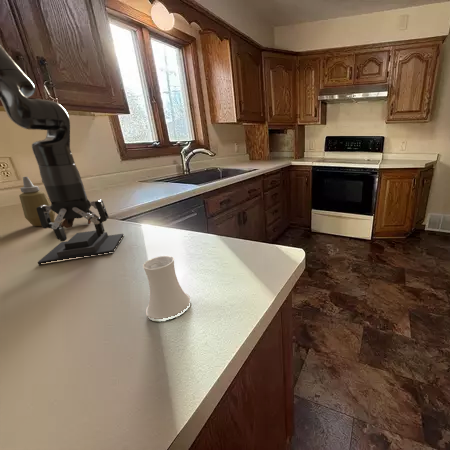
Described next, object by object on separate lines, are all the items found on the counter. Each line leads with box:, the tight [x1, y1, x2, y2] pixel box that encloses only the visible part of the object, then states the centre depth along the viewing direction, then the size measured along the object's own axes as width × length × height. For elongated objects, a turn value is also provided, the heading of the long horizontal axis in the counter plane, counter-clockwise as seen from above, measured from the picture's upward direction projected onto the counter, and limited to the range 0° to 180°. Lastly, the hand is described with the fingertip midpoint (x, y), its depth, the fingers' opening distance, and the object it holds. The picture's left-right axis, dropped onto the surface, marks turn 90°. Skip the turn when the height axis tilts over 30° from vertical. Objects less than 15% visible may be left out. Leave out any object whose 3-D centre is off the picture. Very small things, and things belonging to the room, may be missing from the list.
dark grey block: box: [64, 230, 99, 250], centre depth 71 cm, size 5×9×3 cm, turn 24°
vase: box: [142, 255, 191, 319], centre depth 45 cm, size 8×8×10 cm
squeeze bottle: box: [18, 176, 56, 227], centre depth 90 cm, size 8×8×18 cm
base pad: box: [37, 231, 124, 264], centre depth 72 cm, size 16×14×2 cm
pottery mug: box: [61, 218, 92, 230], centre depth 89 cm, size 12×10×8 cm
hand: (82, 237), depth 71 cm, fingers open, 8 cm apart
